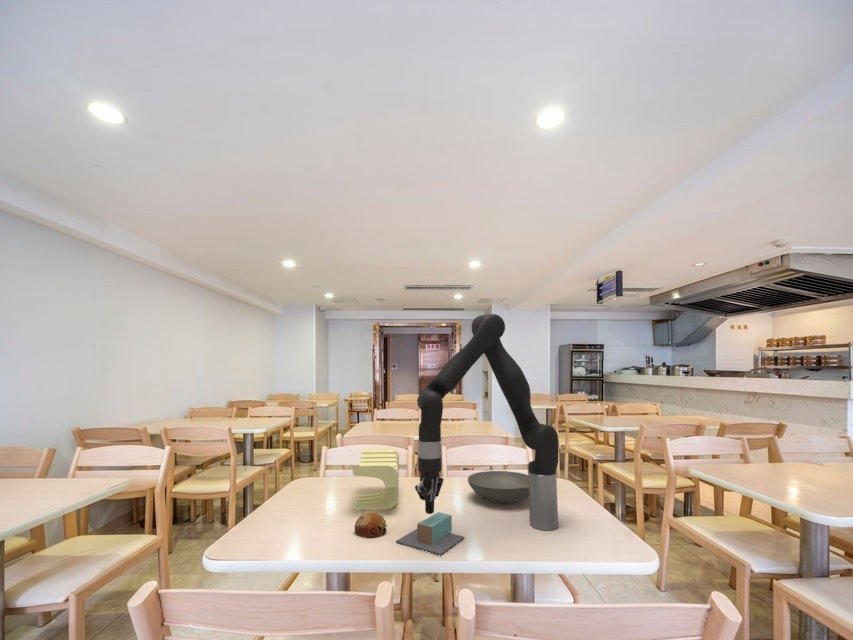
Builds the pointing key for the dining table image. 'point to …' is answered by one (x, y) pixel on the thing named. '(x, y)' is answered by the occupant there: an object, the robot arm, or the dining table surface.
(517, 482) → the bowl
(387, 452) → the slatted curved stool
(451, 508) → the dining table surface
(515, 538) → the dining table surface
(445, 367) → the robot arm
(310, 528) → the dining table surface
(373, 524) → the bread roll
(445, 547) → the mat
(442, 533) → the teal block
